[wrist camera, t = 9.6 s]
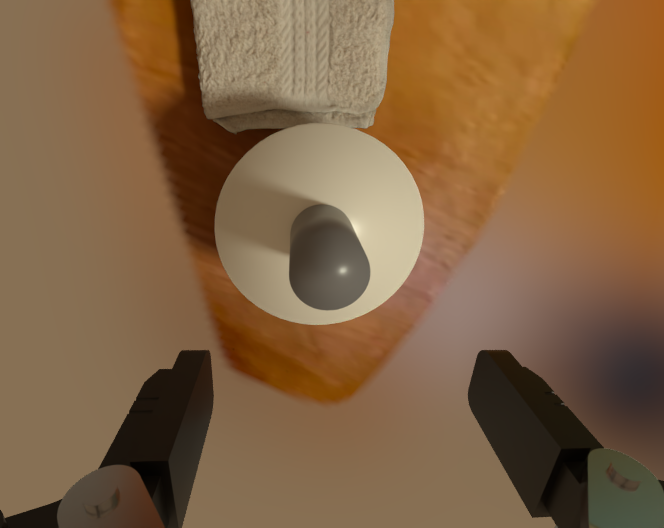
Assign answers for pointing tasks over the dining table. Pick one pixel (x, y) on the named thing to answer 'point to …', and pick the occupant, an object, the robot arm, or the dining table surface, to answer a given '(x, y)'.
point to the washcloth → (292, 61)
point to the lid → (319, 224)
